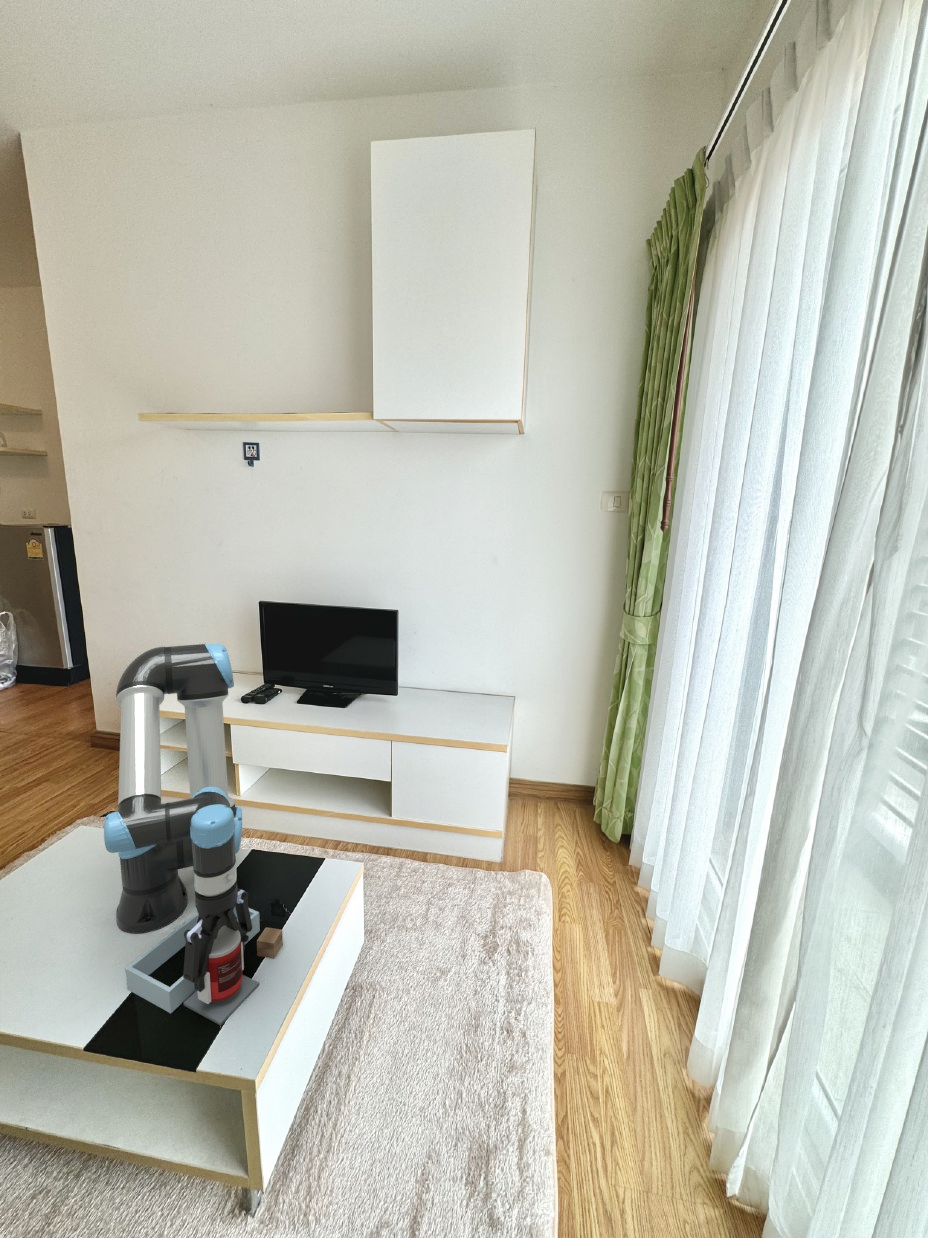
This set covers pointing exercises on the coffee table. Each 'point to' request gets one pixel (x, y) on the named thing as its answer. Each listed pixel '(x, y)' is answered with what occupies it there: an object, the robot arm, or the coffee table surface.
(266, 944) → the walnut block
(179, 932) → the bin
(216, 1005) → the pad
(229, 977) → the canned food
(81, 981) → the coffee table surface
